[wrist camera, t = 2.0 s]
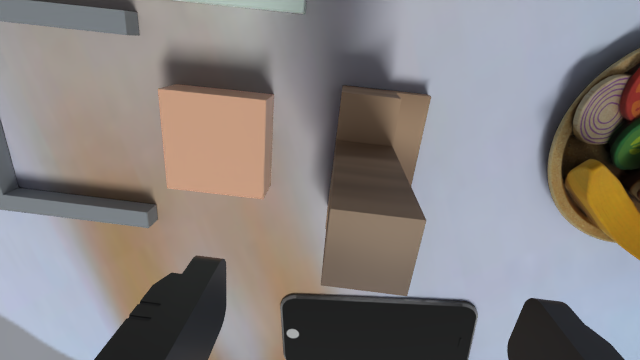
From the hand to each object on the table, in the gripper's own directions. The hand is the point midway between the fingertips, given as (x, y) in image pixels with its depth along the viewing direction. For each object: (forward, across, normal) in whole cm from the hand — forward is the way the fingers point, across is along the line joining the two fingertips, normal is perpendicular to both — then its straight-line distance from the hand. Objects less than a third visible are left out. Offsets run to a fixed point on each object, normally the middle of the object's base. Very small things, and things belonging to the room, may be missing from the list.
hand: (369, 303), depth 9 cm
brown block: (+13, 0, 0) cm, 13 cm away
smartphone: (+14, -4, +15) cm, 21 cm away
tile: (+14, +8, 0) cm, 16 cm away
